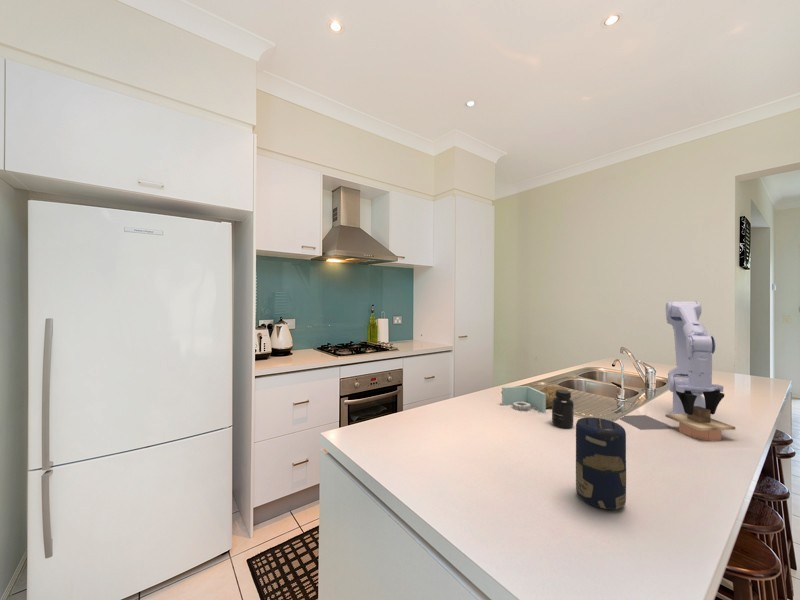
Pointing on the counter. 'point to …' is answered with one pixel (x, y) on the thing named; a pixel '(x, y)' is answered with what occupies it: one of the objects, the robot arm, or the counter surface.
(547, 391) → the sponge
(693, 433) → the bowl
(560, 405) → the supplement bottle
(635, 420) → the mat
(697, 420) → the lid
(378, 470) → the counter surface
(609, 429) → the canister
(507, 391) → the teal corner wall
